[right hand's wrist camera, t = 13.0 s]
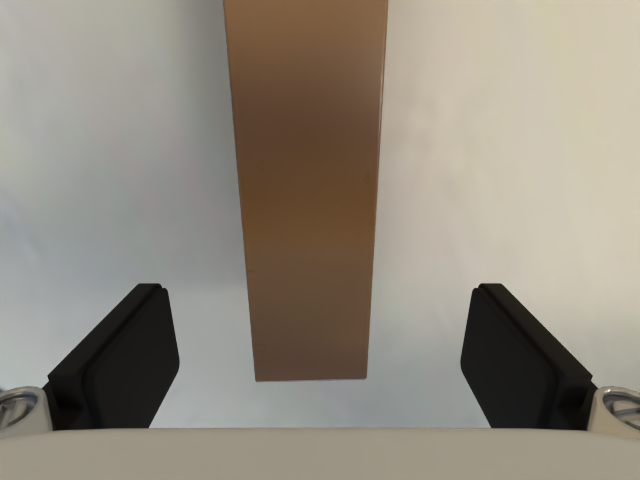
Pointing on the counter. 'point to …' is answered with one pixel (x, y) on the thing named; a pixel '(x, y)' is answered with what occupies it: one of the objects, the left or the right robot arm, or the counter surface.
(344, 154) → the bar
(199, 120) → the counter surface
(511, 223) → the counter surface
